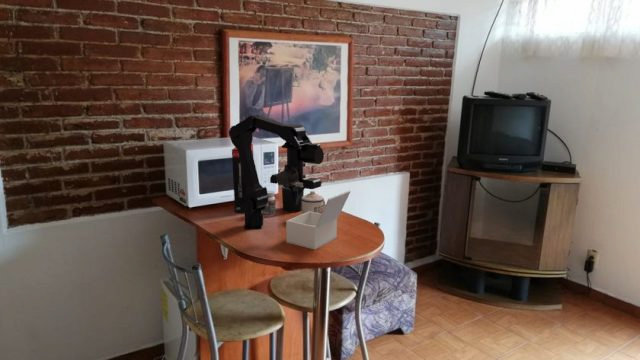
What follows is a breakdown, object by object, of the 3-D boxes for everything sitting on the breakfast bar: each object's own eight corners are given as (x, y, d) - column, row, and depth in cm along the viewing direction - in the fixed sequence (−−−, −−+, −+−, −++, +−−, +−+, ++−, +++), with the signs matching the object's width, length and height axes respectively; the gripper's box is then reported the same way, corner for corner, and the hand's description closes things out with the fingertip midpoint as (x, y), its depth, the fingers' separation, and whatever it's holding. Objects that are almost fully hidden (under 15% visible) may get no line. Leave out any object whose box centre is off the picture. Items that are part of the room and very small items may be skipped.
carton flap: (328, 198, 155) (329, 199, 154) (349, 190, 166) (350, 191, 165) (315, 226, 160) (316, 227, 159) (336, 216, 171) (338, 217, 170)
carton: (286, 242, 168) (286, 220, 166) (309, 231, 179) (309, 211, 177) (315, 249, 161) (315, 227, 159) (336, 238, 173) (337, 216, 171)
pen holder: (305, 212, 204) (305, 189, 202) (283, 213, 202) (283, 190, 200) (301, 206, 213) (301, 184, 211) (280, 207, 211) (280, 185, 209)
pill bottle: (272, 217, 196) (272, 194, 194) (259, 216, 197) (259, 193, 195) (277, 213, 201) (277, 190, 199) (264, 212, 203) (264, 189, 201)
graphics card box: (249, 213, 201) (248, 149, 195) (233, 213, 201) (231, 149, 195) (255, 202, 218) (254, 143, 212) (240, 202, 218) (238, 143, 212)
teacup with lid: (313, 224, 188) (313, 195, 186) (296, 219, 194) (296, 191, 191) (332, 217, 197) (333, 189, 194) (316, 213, 203) (316, 186, 200)
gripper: (259, 162, 166) (260, 205, 170) (303, 167, 156) (303, 213, 160) (279, 157, 175) (280, 198, 179) (322, 162, 165) (322, 206, 169)
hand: (295, 204), depth 171 cm, fingers closed
